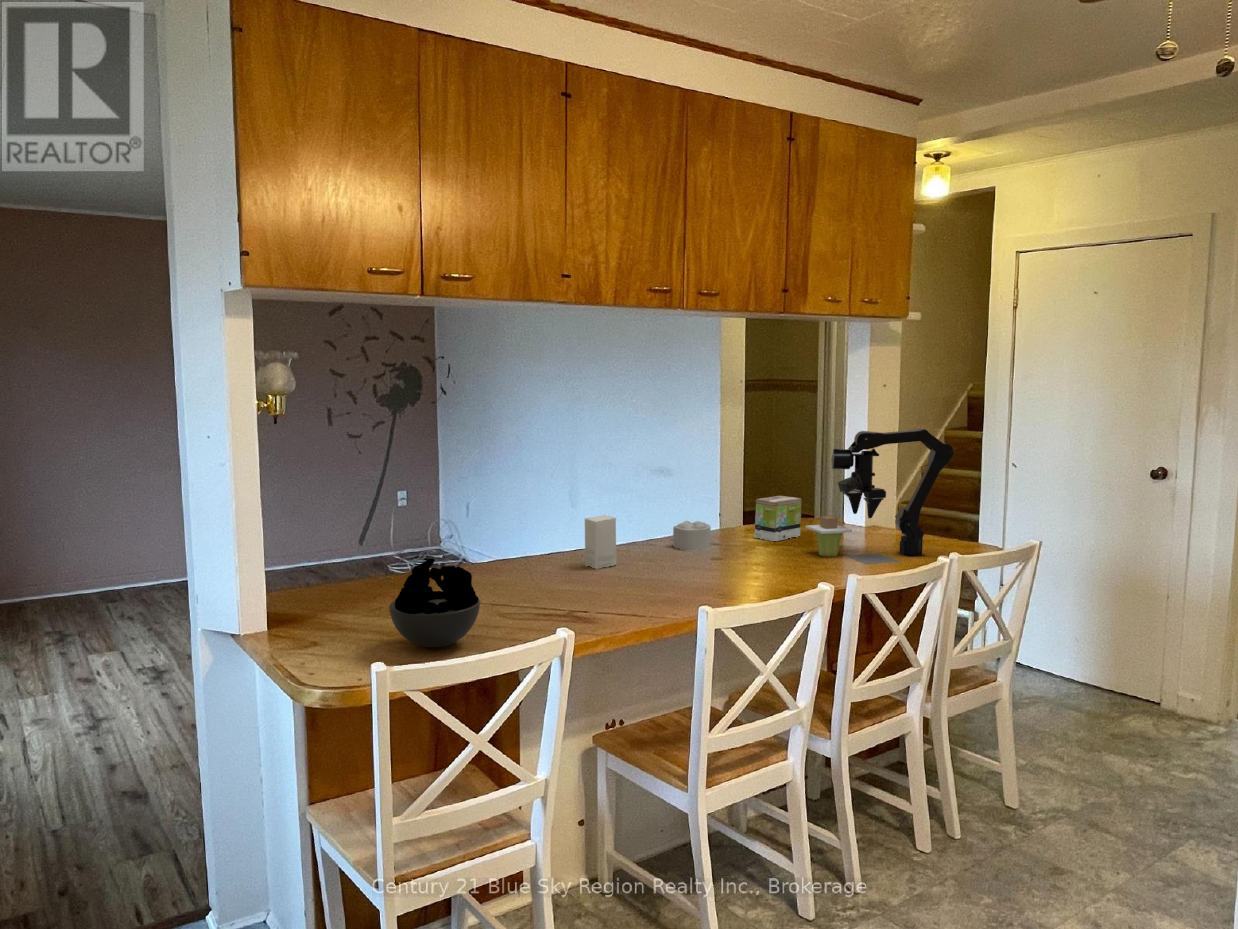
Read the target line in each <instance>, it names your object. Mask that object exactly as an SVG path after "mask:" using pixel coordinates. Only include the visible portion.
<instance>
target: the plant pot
mask: <svg viewBox="0 0 1238 929" xmlns="http://www.w3.org/2000/svg"><path fill="white" fill-rule="evenodd" d="M815 535H816V542H817V550H818V551H817V552H818V555H819V556H822V557H836V556H837V557H838V553H839V548H840V543H841V537H842V536H843V533H829V534H821V533H818V532H815Z"/></svg>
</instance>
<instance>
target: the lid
mask: <svg viewBox="0 0 1238 929" xmlns="http://www.w3.org/2000/svg"><path fill="white" fill-rule="evenodd" d="M805 528H806V529H808V530H810V531H812V532H815V533H816V532H818V533H821V534H829V533H842V534H843V533H853V529H851V528H848V527H846V526H844V525H840V524H838V518H837V517H835V516H832V515H829V516H828V515H827V516H820V523H819V524H811V525H810V524H808V525H805Z"/></svg>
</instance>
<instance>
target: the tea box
mask: <svg viewBox="0 0 1238 929" xmlns="http://www.w3.org/2000/svg"><path fill="white" fill-rule="evenodd" d="M754 517H755V518H754V520H755V521H754V539H757V538H760V539H759V540H762V539H764V540H763V541H767V540H769V541H768V542H773V541H776V542H779V541H784V540H789V539H788V538H790V539H792V538H791V537H796V538H799V537H798V536H800V537H801V526H802V525H801V522H802V498H799V497H792V496H785V495H775V496H769V497H762V498H756V499H755V516H754Z"/></svg>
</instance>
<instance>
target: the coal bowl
mask: <svg viewBox="0 0 1238 929" xmlns="http://www.w3.org/2000/svg"><path fill="white" fill-rule="evenodd" d="M434 562H436V559H434V558H428V559H426V560H424V561H422V562H421V563H419V564H417V565H415V566H414V567H412V569H411V574H410V575H408V577H407V578H406V579H405V581H404V583H403V587H401V589H400V592H399V594H398V595H397V597H396V598H395V600H393V601H392V602H391V603H390V604H389V606H388V607H389V609H388V610H389V616H390V618H391V621H392V623H393V624H394V627H395V628H396V630H397V631H398V633H399V634H400V635H401V636H402V637H403V638H405V639H406V640H407V641H409V642H410V643H412V644H414V645H416V646H419V647H421V648H422V647H423V648H427V647H439V648H444V647H447V645H448V646H450V645H452V644H454V643H457V642H459V641H460V640H461V639H463V638H464V637H465V636H466V635H467V634H468V633H469V631H470V630H471V629H472V628H473V626H474V624H475V623H476V621H477V617H478V615H479V611H480V608H481V602H480V599H479V596H477V593H476V591H475V589H474V587H473V585H472V584H473V583H472V582H473V577H472V573H471V572H470V571H469V570H466V569H464V568H463V567H461V566H455V565H446V566H445V565H441V567H440V568H437V567H436V566H435V567H432V566H433V564H435V563H434ZM431 580H432V581H435V584H436V586H438V588H440V590H434V589H433V587H432V586H429V585H430V582H431ZM443 646H444V647H443Z"/></svg>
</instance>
